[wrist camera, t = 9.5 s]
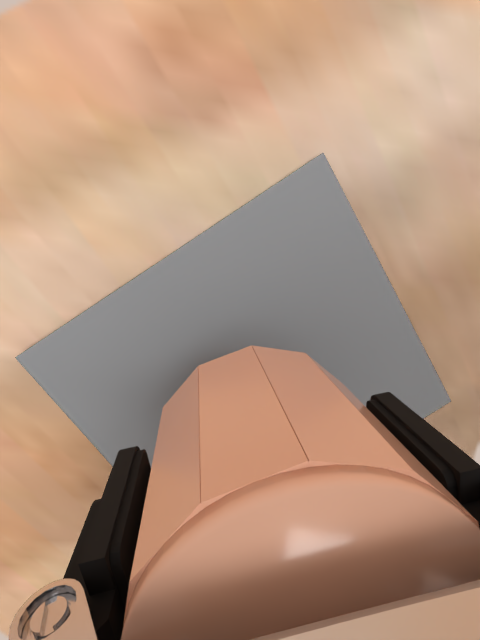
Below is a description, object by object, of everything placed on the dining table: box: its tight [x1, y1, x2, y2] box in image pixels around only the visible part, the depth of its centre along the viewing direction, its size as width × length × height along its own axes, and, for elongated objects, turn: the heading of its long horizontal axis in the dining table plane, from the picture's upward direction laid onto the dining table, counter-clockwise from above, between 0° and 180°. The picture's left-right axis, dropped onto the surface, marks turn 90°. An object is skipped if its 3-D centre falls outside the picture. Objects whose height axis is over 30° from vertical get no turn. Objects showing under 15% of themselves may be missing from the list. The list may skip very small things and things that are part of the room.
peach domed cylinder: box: [121, 345, 480, 640], centre depth 9 cm, size 7×7×6 cm
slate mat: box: [15, 153, 451, 467], centre depth 17 cm, size 16×14×1 cm
